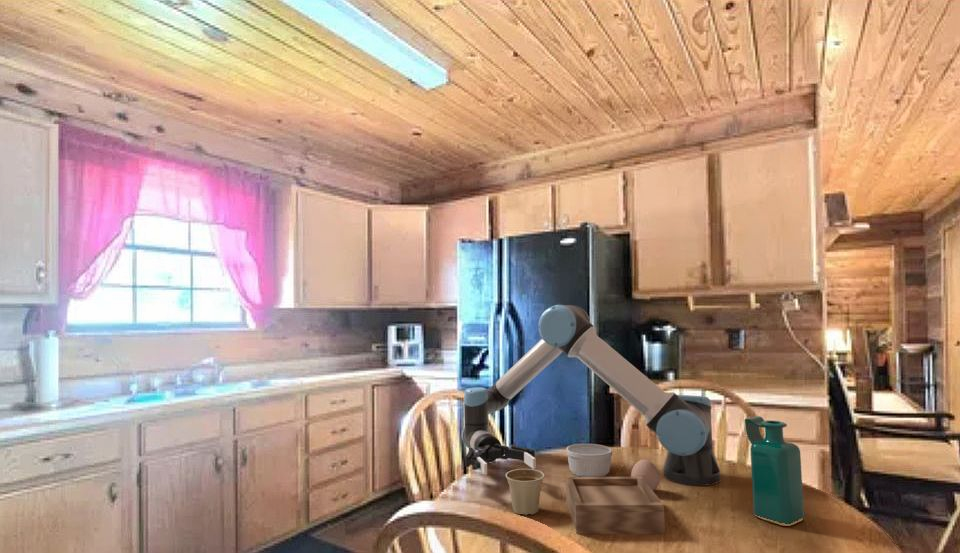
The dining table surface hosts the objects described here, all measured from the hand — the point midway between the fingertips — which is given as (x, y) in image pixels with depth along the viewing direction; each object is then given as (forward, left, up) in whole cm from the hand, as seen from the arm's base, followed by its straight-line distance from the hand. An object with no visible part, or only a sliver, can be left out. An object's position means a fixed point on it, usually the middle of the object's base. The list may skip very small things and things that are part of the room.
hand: (510, 466), depth 138 cm
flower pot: (-3, +9, -8) cm, 13 cm away
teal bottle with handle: (-60, +14, -8) cm, 63 cm away
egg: (-35, -3, -8) cm, 37 cm away
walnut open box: (-23, +13, -8) cm, 28 cm away
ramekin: (-23, -20, -8) cm, 32 cm away
